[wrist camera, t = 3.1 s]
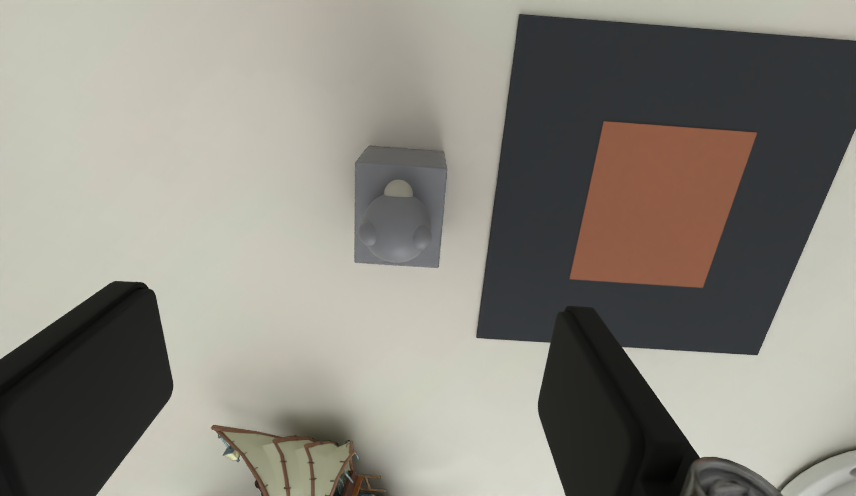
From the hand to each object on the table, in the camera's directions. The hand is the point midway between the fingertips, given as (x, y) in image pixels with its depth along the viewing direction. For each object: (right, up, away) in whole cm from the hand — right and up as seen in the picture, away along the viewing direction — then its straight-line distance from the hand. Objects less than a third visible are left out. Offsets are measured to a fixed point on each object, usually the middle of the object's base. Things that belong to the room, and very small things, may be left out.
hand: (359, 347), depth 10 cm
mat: (+14, +4, +14) cm, 20 cm away
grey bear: (0, +5, +13) cm, 14 cm away
